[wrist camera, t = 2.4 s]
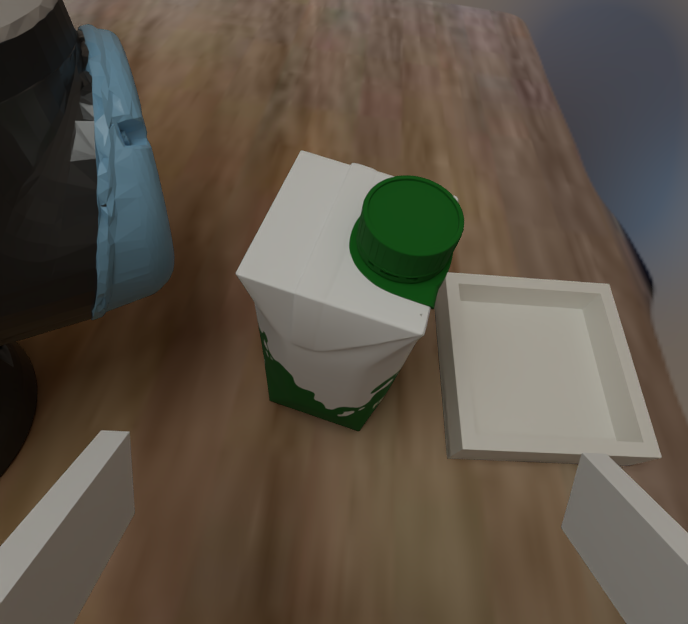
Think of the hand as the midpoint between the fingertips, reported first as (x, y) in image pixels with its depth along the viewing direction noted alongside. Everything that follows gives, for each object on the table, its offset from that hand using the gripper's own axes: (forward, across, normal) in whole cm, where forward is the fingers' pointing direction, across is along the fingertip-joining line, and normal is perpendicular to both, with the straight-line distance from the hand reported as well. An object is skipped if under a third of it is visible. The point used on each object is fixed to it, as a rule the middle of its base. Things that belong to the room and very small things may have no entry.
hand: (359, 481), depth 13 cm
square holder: (+22, +16, -6) cm, 27 cm away
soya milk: (+21, 0, -6) cm, 22 cm away
